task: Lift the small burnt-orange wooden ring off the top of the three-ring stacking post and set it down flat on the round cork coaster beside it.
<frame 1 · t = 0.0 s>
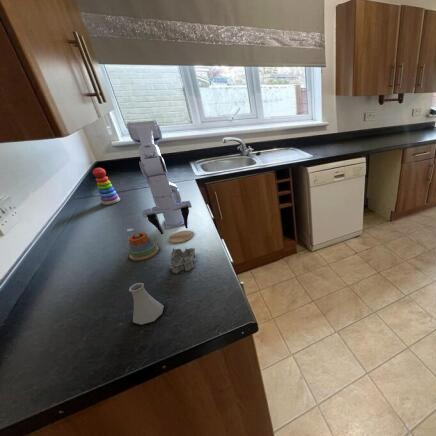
hand: (174, 230, 94), 10 cm above the worktop, tool pointing down, fingers open, 7 cm apart
cork coaster: (181, 237, 109), on the worktop
egg carton: (184, 263, 94), on the worktop
orange ring: (139, 241, 97), point 5 cm above the worktop, touching ring stack
stacking toy: (111, 202, 142), on the worktop
ring stack: (144, 253, 100), on the worktop
flask: (149, 315, 74), on the worktop
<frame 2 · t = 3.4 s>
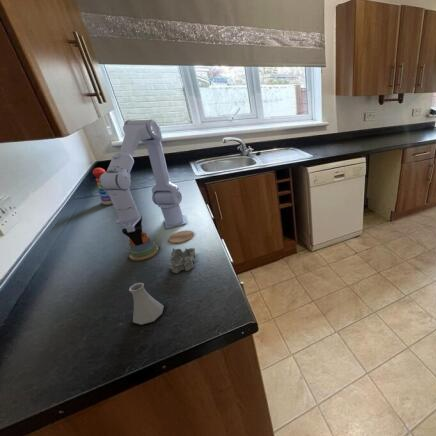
hand: (139, 240, 97), 6 cm above the worktop, tool pointing down, fingers closed on orange ring, 5 cm apart
orange ring: (139, 241, 97), point 5 cm above the worktop, touching gripper, ring stack
everything else where it was.
when the fingers open (1 cm above the worktop, at t = 8.6 s): orange ring stays where it is, resting on cork coaster.
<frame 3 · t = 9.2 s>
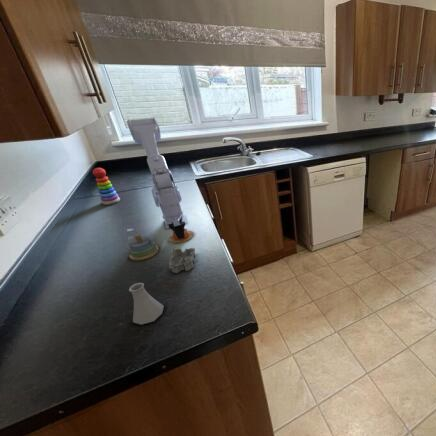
hand: (180, 234, 109), 1 cm above the worktop, tool pointing down, fingers open, 7 cm apart
orange ring: (181, 236, 109), resting on cork coaster
everything else where it was.
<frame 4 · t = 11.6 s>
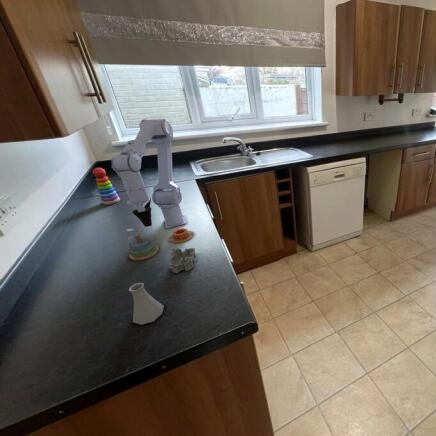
hand: (148, 221, 102), 9 cm above the worktop, tool pointing down, fingers open, 7 cm apart
nothing on the worktop moved.
at the end: orange ring 0.1 cm off-centre on the cork coaster, point 0.4 cm above the cork coaster's base; orange ring tilted 0°; orange ring touching cork coaster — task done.
